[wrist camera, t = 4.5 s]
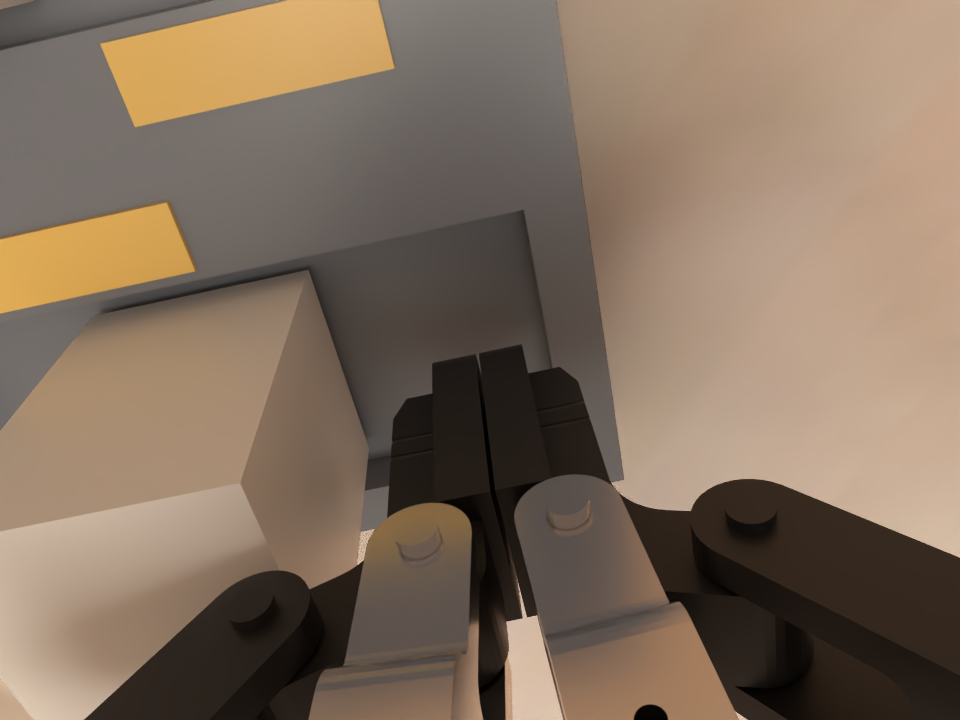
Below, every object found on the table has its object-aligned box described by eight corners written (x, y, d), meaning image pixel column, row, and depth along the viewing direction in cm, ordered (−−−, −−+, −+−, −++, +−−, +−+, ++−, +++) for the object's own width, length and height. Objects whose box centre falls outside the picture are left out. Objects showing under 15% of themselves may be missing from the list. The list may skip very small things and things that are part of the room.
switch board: (445, -617, 10) (450, -750, 8) (602, 418, 18) (625, 483, 16) (-509, -361, 11) (-728, -424, 9) (52, 529, 19) (6, 605, 17)
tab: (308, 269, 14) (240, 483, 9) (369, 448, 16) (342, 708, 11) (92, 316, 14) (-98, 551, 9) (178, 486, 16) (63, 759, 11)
